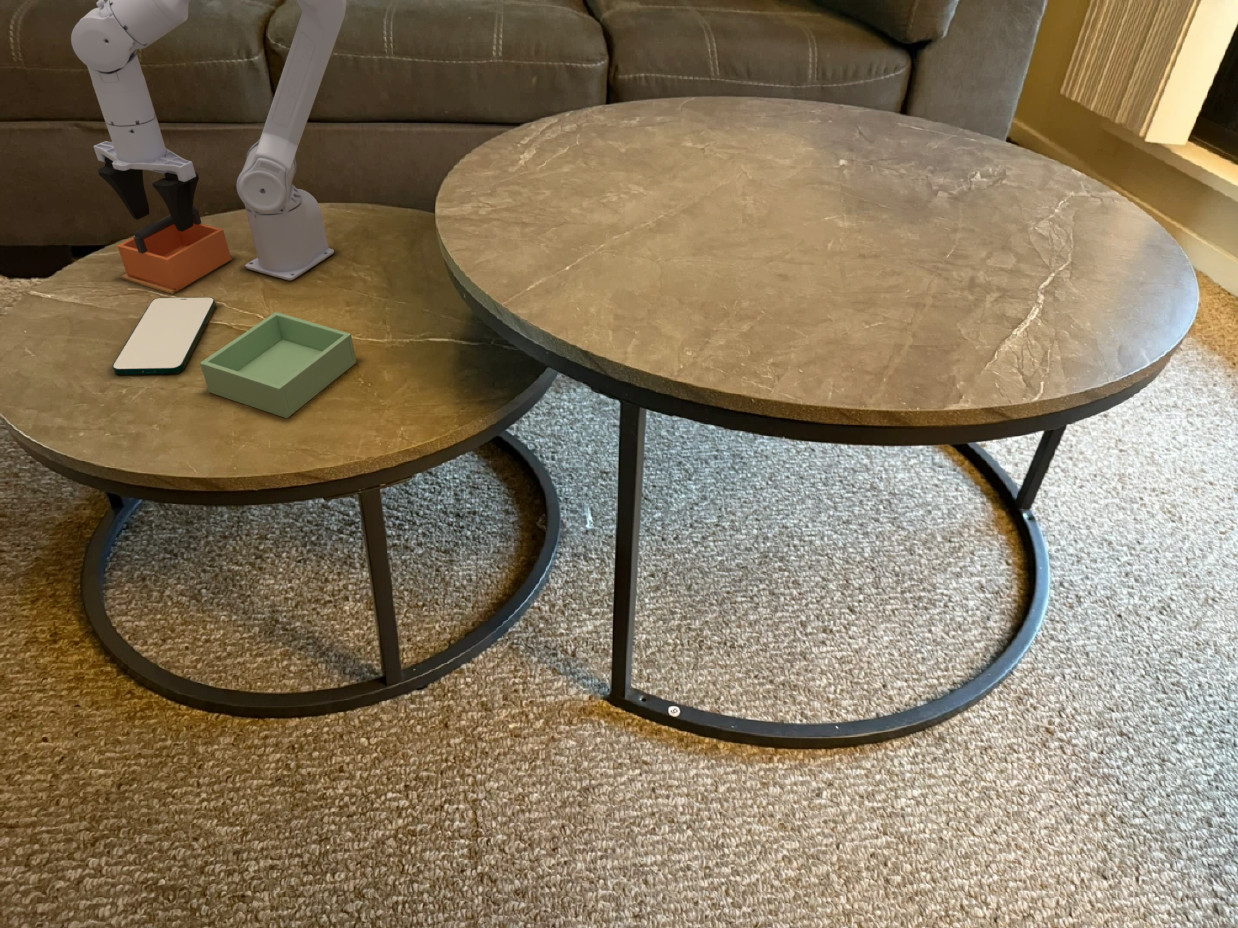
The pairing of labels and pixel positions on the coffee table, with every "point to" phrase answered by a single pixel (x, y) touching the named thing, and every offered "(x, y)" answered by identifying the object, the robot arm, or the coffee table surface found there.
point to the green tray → (279, 364)
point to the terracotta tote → (174, 252)
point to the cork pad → (125, 277)
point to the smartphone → (165, 336)
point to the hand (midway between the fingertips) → (163, 222)
